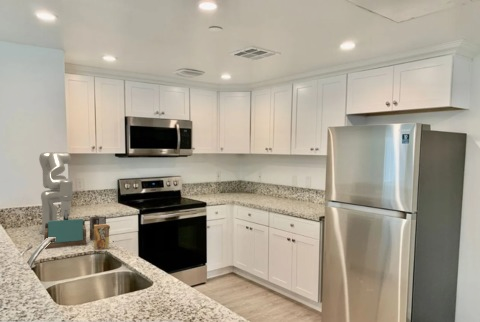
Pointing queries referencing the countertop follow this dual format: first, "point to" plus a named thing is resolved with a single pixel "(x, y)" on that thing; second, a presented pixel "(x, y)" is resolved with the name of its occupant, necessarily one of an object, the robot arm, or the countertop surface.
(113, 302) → the countertop surface
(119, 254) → the countertop surface
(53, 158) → the robot arm
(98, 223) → the coffee box
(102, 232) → the candy box
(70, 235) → the panel
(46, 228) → the hinged box
